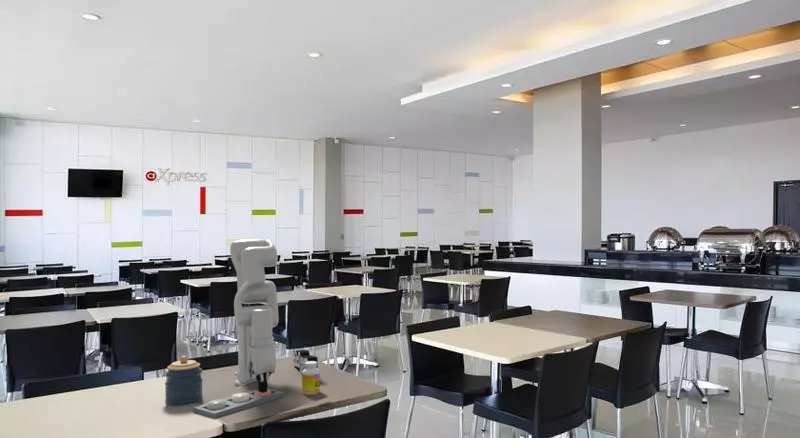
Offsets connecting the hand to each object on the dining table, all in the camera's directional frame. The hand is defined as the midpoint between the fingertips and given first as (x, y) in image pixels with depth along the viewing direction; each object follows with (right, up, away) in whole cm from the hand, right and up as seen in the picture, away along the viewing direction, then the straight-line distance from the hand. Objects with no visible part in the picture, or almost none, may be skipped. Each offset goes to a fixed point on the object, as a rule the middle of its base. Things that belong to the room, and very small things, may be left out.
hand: (262, 391), depth 208 cm
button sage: (-12, -2, -16) cm, 20 cm away
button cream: (-6, -2, -8) cm, 10 cm away
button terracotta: (0, -3, 0) cm, 3 cm away
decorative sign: (+9, -5, +42) cm, 43 cm away
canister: (-28, -4, -3) cm, 29 cm away
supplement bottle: (+17, -4, +4) cm, 18 cm away
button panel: (-6, -3, -8) cm, 11 cm away
